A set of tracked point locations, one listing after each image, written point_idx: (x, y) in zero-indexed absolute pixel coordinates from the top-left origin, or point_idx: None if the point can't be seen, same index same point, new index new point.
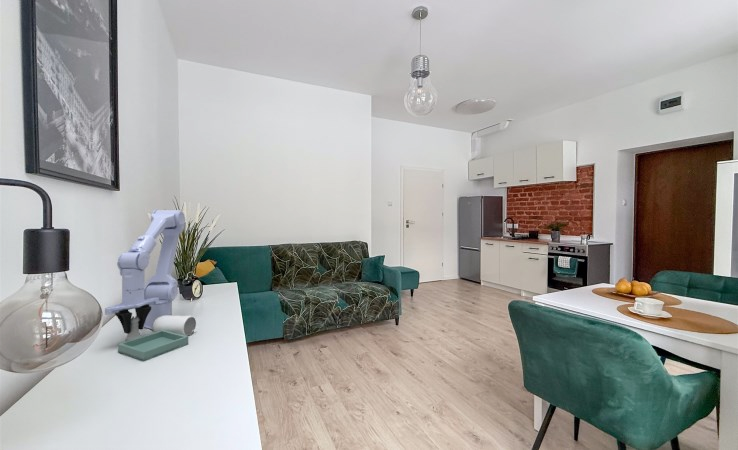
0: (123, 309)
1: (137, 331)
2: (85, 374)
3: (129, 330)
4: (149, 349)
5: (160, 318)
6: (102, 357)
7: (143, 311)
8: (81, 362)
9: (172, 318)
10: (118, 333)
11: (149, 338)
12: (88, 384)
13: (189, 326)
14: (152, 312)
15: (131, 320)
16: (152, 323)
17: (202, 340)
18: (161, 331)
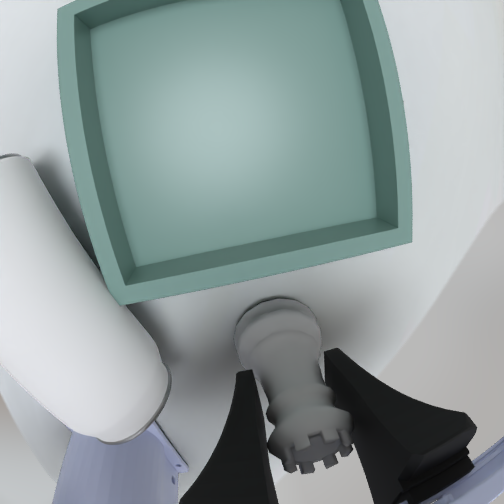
0: (438, 497)
1: (277, 356)
2: (491, 97)
3: (337, 359)
4: None
5: (107, 409)
6: (433, 220)
7: (269, 492)
8: (473, 232)
9: (19, 326)
10: None
11: (221, 256)
12: (484, 19)
13: None
14: (146, 498)
15: (344, 425)
16: (150, 450)
17: (16, 44)
18: (130, 283)
